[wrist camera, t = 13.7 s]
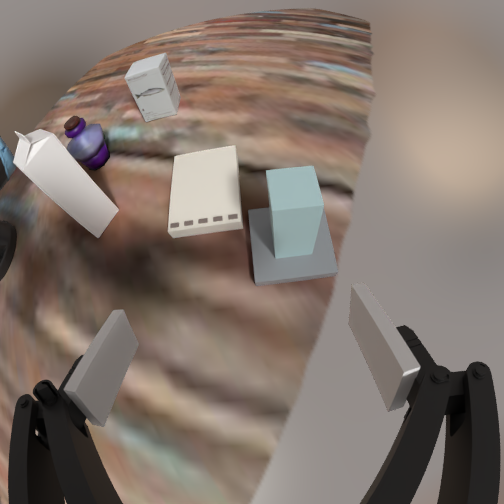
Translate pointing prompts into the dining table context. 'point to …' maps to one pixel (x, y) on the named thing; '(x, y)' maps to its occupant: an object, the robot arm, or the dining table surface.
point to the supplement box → (154, 87)
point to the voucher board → (205, 193)
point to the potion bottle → (86, 143)
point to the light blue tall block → (294, 210)
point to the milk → (64, 180)
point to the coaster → (288, 267)
